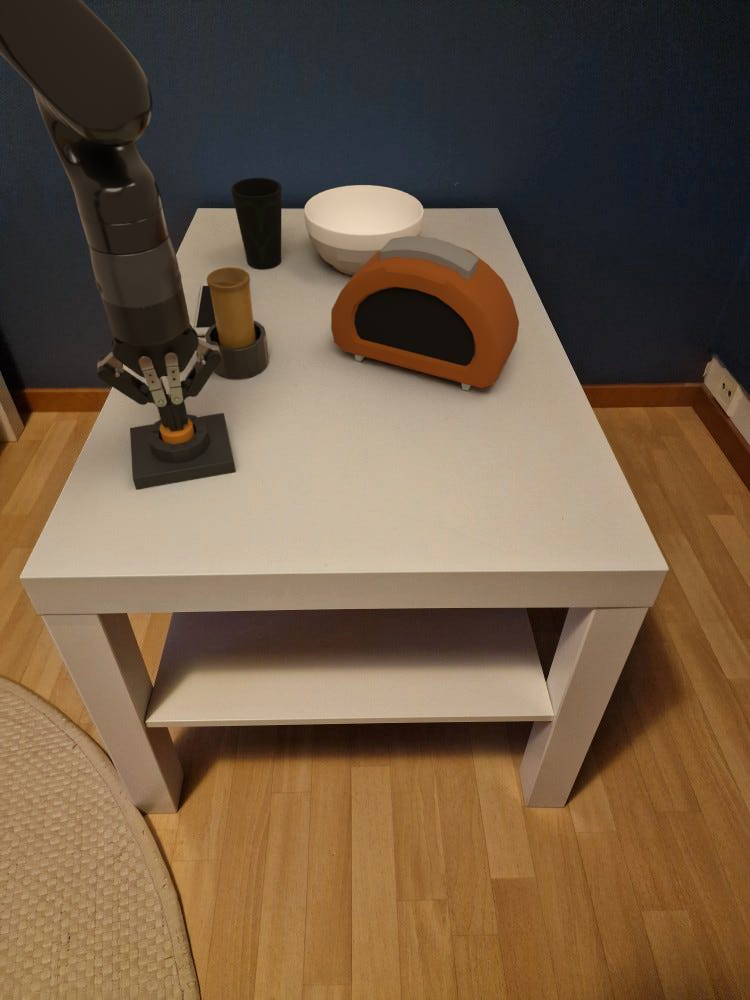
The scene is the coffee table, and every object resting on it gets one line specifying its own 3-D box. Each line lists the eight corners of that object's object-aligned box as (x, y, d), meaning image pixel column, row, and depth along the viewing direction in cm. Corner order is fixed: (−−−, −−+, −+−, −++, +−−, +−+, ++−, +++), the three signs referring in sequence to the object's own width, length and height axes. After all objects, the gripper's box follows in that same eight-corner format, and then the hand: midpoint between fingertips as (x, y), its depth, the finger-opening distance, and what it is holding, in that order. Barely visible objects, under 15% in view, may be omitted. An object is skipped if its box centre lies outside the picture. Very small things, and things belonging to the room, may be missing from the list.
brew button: (163, 450, 77) (160, 438, 76) (161, 430, 79) (158, 418, 78) (196, 445, 78) (193, 433, 76) (193, 425, 80) (190, 413, 79)
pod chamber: (214, 383, 90) (208, 354, 87) (207, 351, 95) (202, 322, 92) (273, 374, 92) (270, 345, 88) (263, 343, 97) (260, 314, 94)
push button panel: (136, 489, 76) (128, 466, 74) (133, 438, 82) (126, 415, 80) (235, 472, 78) (231, 449, 76) (225, 423, 84) (221, 400, 82)
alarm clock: (330, 357, 95) (325, 239, 83) (357, 325, 100) (357, 211, 88) (493, 401, 88) (514, 281, 76) (513, 365, 94) (535, 247, 82)
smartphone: (192, 333, 97) (201, 281, 107) (193, 337, 97) (202, 285, 108) (246, 331, 97) (249, 279, 108) (246, 335, 98) (250, 283, 108)
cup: (265, 277, 110) (256, 201, 101) (231, 263, 113) (220, 188, 105) (297, 259, 114) (291, 185, 106) (263, 246, 118) (255, 173, 109)
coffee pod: (223, 373, 91) (209, 290, 82) (218, 351, 94) (204, 269, 86) (262, 367, 92) (252, 284, 83) (256, 346, 95) (246, 264, 87)
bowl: (411, 233, 122) (413, 183, 115) (429, 286, 109) (433, 232, 102) (304, 238, 120) (301, 186, 114) (310, 292, 107) (306, 237, 101)
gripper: (207, 257, 69) (231, 397, 81) (67, 273, 66) (114, 415, 78) (216, 294, 63) (240, 437, 76) (65, 313, 61) (115, 458, 73)
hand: (176, 425), depth 77 cm, fingers closed
